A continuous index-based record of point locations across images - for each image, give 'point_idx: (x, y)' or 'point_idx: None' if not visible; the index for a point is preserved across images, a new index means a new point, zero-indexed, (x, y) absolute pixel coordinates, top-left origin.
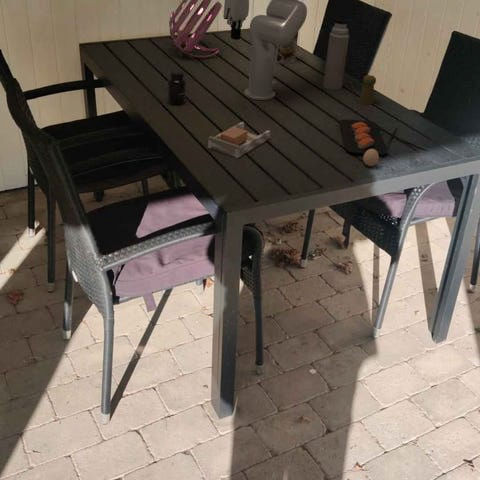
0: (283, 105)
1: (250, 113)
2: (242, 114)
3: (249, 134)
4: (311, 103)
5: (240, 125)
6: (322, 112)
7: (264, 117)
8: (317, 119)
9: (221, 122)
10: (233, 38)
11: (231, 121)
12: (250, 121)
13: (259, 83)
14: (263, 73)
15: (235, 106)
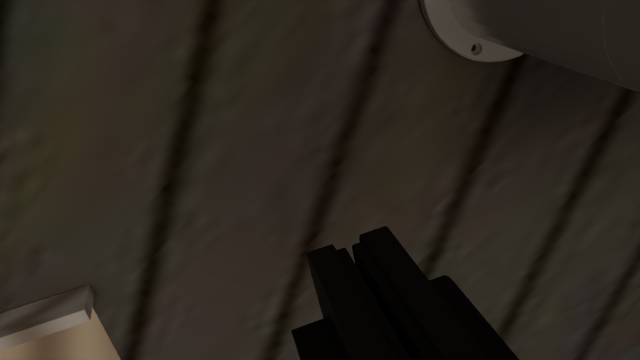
0: (471, 150)
1: (267, 149)
2: (221, 139)
3: (87, 342)
4: (574, 192)
5: (54, 330)
6: (522, 281)
7: (290, 219)
8: None
9: (40, 170)
10: (320, 299)
11: (103, 184)
12: (197, 227)
13: (497, 30)
14: (552, 58)
15: (265, 26)
